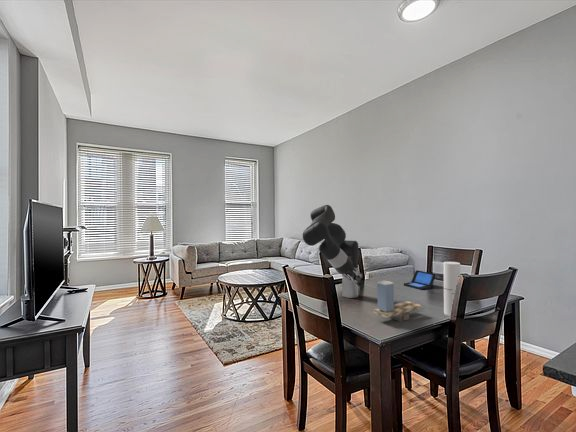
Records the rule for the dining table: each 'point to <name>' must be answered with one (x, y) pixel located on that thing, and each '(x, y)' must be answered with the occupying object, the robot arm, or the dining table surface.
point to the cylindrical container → (450, 284)
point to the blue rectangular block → (385, 295)
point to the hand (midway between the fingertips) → (361, 285)
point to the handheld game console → (421, 280)
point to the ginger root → (399, 311)
